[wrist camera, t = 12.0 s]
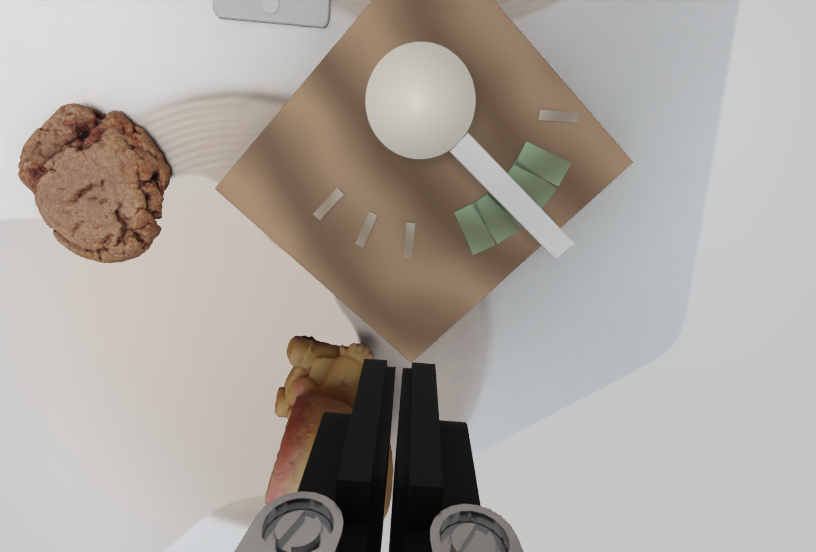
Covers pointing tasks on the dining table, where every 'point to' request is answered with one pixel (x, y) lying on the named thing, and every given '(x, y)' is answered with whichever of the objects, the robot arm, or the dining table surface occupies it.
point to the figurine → (314, 405)
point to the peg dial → (445, 126)
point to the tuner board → (419, 172)
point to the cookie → (96, 182)
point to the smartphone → (276, 11)
